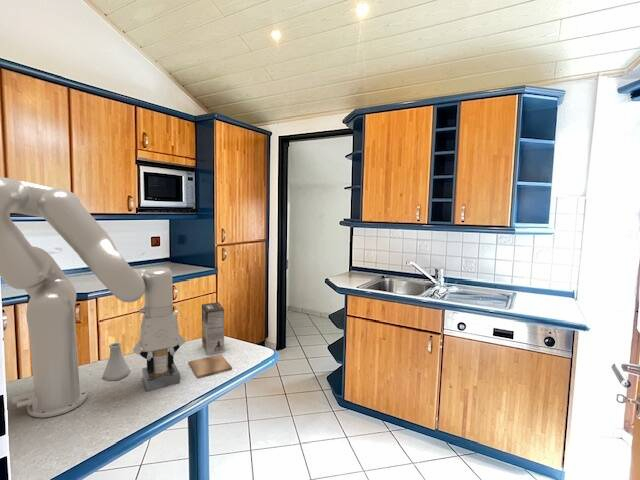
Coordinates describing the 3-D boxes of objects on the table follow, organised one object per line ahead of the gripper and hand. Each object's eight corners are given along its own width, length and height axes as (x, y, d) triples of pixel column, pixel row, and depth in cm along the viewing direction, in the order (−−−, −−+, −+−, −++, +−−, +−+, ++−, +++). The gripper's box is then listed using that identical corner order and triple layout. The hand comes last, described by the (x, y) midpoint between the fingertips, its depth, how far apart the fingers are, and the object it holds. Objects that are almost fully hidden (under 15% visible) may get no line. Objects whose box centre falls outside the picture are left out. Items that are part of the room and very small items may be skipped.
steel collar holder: (146, 391, 100) (146, 381, 100) (142, 377, 108) (142, 368, 107) (180, 383, 105) (179, 373, 105) (173, 370, 113) (173, 361, 112)
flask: (134, 370, 112) (133, 340, 110) (119, 382, 105) (118, 350, 103) (113, 368, 112) (112, 338, 111) (97, 380, 105) (95, 348, 104)
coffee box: (201, 345, 131) (200, 303, 129) (218, 342, 134) (218, 301, 132) (206, 355, 123) (206, 311, 121) (225, 352, 127) (225, 308, 125)
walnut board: (197, 378, 108) (197, 376, 108) (188, 363, 117) (188, 361, 117) (232, 369, 114) (232, 367, 114) (221, 356, 123) (221, 354, 123)
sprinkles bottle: (157, 376, 109) (156, 334, 107) (171, 376, 108) (170, 335, 107) (149, 383, 104) (148, 340, 102) (164, 384, 104) (163, 341, 102)
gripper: (127, 318, 96) (130, 381, 98) (191, 309, 105) (192, 367, 107) (125, 310, 102) (127, 370, 104) (185, 302, 111) (186, 357, 114)
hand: (160, 368), depth 106 cm, fingers closed on sprinkles bottle, 4 cm apart
